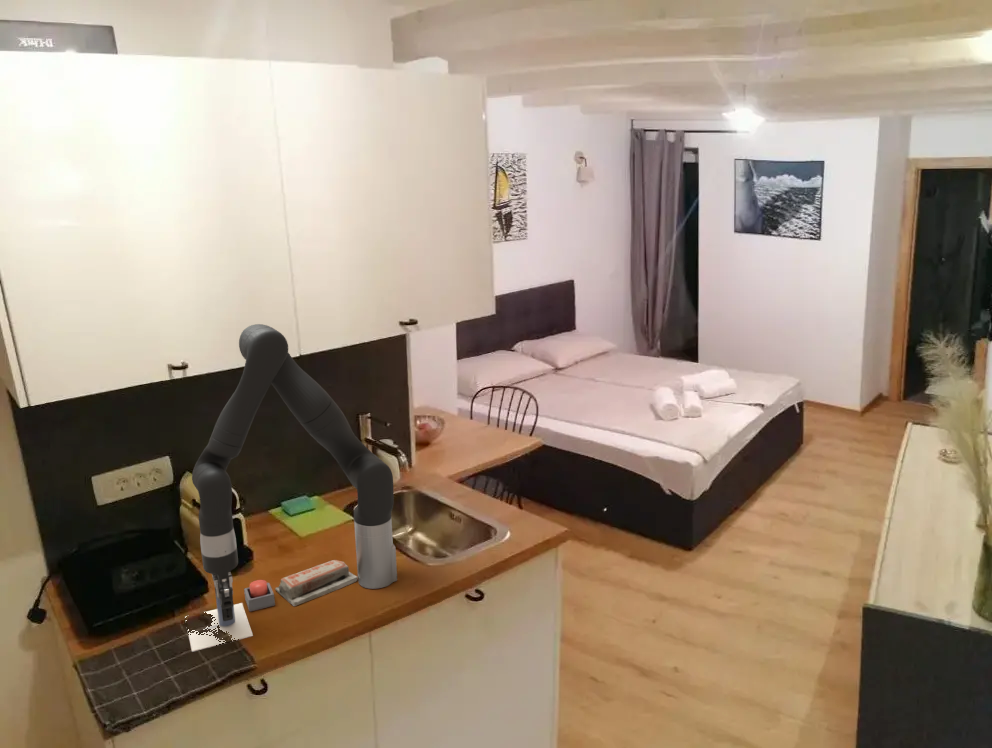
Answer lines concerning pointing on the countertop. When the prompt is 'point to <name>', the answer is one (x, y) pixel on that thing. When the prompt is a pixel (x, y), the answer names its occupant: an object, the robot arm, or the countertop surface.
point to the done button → (258, 588)
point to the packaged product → (315, 582)
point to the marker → (221, 622)
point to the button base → (259, 599)
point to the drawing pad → (236, 629)
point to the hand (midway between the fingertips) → (226, 614)
